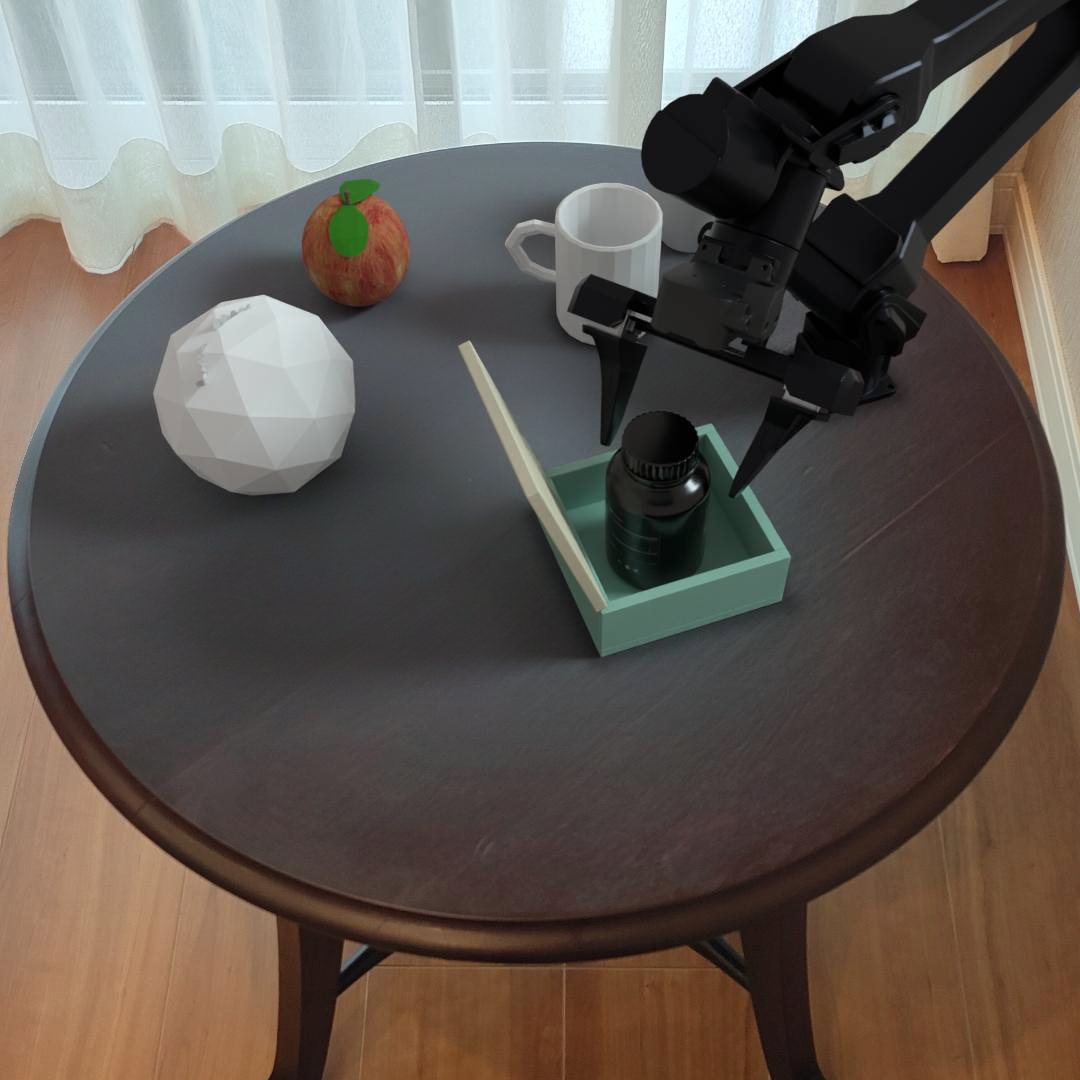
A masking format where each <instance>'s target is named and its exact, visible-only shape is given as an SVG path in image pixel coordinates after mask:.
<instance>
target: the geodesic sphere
mask: <svg viewBox="0 0 1080 1080" xmlns="http://www.w3.org/2000/svg"><path fill="white" fill-rule="evenodd" d="M162 359H163V360H162V362H161V366H160V369H159V372H158V376H157V379H156V382H155V386H154V389H153V391H152V396H153V399H154V400H153V401H154V404H155V409H156V412H157V417H158V422H159V426H160V429H161V434H162V436H163V437H164V438H165V440H166V442H167V443H168V444H169V446H170V448H172V450H173V452H174V454H176V456H177V457H178V458H179V459H181V461H182V462H183V463H184V464H185V465H187V467H188V468H190V470H192V472H193V473H194V474H195V475H197V477H199V478H201V479H203V480H205V481H207V482H209V483H212V484H214V485H216V486H218V487H220V488H221V489H225V490H227V492H230V493H236V494H241V495H247V496H262V495H263V496H264V495H273V494H274V495H275V494H289V493H295V492H296V491H298V490H299V489H300V488H301V487H303V486H304V485H306V484H308V482H309V481H311V480H312V479H313V478H315V477H316V476H318V475H319V474H320V473H321V472H322V471H324V470H325V469H327V468H328V467H329V466H331V465H332V464H333V463H335V462H336V461H338V460H339V459H340V458H341V457H342V454H343V452H344V448H345V444H346V442H347V438H348V435H349V432H350V429H351V425H352V423H353V418H354V416H355V412H356V389H355V386H356V385H355V373H354V360H353V359H352V357H350V355H349V354H348V353H347V352H346V350H345V349H344V347H343V346H342V345H341V344H340V342H339V341H338V340H337V339H336V337H335V336H334V335H333V334H332V332H331V331H330V329H329V328H328V327H327V326H326V324H325V323H324V321H322V319H321V318H320V317H319V316H318V315H317V314H314V313H312V312H309V311H307V310H304V309H301V308H299V307H297V306H294V305H291V304H289V303H286V302H283V301H281V300H279V299H276V298H273V297H271V296H268V295H267V294H266V295H265V294H261V295H254V296H249V297H243V298H237V299H232V300H226V301H221V302H219V303H218V304H216V305H215V306H213V307H212V308H210V309H208V310H207V311H206V312H204V313H203V314H201V315H199V316H198V317H196V318H195V319H193V320H192V321H190V322H189V323H187V324H185V325H184V326H182V327H180V328H179V329H177V331H175V332H173V333H171V334H170V337H169V340H168V343H167V347H166V350H165V353H164V356H163V358H162Z"/></svg>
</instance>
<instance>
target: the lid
mask: <svg viewBox="0 0 1080 1080" xmlns="http://www.w3.org/2000/svg"><path fill="white" fill-rule="evenodd" d="M458 350H459V352H460V354H461V357H462V360H463V361H464V364H465V365H466V368H467V371H468V372H469V374H470V376H471V379H472V381H473V383H474V386H475V387H476V391H477V392H478V395H479V396H480V397H479V398H480V399H481V401H482V403H483V405H484V407H485V410H486V412H487V414H488V416H489V419H490V421H491V423H492V426H493V427H494V430H495V432H496V434H497V436H498V439H499V440H500V443H501V445H502V447H503V449H504V452H505V454H506V456H507V458H508V460H509V462H510V466H511V467H512V469H513V471H514V474H515V476H516V479H517V480H518V482H519V485H520V487H521V489H522V492H523V494H524V496H525V498H526V500H527V501H528V503H529V504H530V506H531V509H532V510H533V511H534V513H535V514H536V516H537V519H538V518H539V519H540V521H541V523H542V524H543V526H544V528H545V529H546V531H547V532H548V534H549V536H550V537H551V539H552V541H553V542H554V544H555V546H556V547H557V549H558V551H559V552H560V554H561V555H562V557H563V559H564V560H565V562H566V564H567V565H568V567H569V569H570V570H571V572H572V574H573V575H574V577H575V578H576V580H577V582H578V583H579V585H580V587H581V588H582V590H583V592H584V593H585V595H586V597H587V598H588V600H589V601H590V603H591V605H592V606H593V608H594V610H595V611H596V612H598V611H600V610H602V609H604V608H606V607H607V605H606V603H605V600H604V598H603V596H602V594H601V592H600V590H599V588H598V586H597V583H596V581H595V579H594V577H593V575H592V573H591V571H590V569H589V566H588V564H587V562H586V560H585V558H584V556H583V554H582V552H581V550H580V547H579V545H578V543H577V541H576V539H575V537H574V535H573V533H572V530H571V528H570V526H569V524H568V522H567V520H566V518H565V516H564V513H563V511H562V509H561V507H560V505H559V503H558V501H557V499H556V496H555V494H554V492H553V490H552V488H551V486H550V484H549V482H548V479H547V477H546V475H545V473H544V471H543V470H544V469H543V467H542V464H541V463H540V461H539V459H538V458H537V456H536V454H535V453H534V451H533V449H532V447H531V445H530V444H529V442H528V440H527V438H526V437H525V435H524V433H523V431H522V429H521V428H520V426H519V424H518V422H517V421H516V419H515V417H514V416H513V413H512V412H511V410H510V409H509V407H508V405H507V403H506V401H505V400H504V397H503V396H502V394H501V393H500V391H499V389H498V388H497V386H496V384H495V382H494V380H493V379H492V377H491V375H490V373H489V371H488V370H487V368H486V367H485V366H486V365H484V363H483V361H482V359H481V357H480V356H479V354H478V353H477V350H476V349H475V347H474V346H473V344H472V342H471V341H470V340H467V341H465V342H462V343H461V344H459V345H458Z"/></svg>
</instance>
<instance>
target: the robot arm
mask: <svg viewBox="0 0 1080 1080" xmlns="http://www.w3.org/2000/svg"><path fill="white" fill-rule="evenodd" d="M1034 24H1035V25H1034ZM1032 25H1034V27H1033V28H1034V29H1033V31H1031V33H1030V34H1029V35H1028V37H1027V38H1026V39H1024V41H1023V42H1022V43H1021V44H1020V45H1019V46H1018V47H1017V48H1016V49H1015V50H1014V51H1013V52H1012V53H1011V54H1010V56H1008V57H1007V59H1005V61H1003V63H1002V64H1001V65H1000V66H999V67H998V68H997V69H996V70H995V71H994V72H993V73H992V75H990V76H989V78H987V79H986V80H985V82H983V84H982V85H981V86H980V87H978V89H976V91H975V92H974V93H973V94H972V95H971V96H970V97H969V99H968V100H966V102H965V103H964V104H963V105H961V107H960V108H959V109H958V110H957V111H956V112H955V113H954V114H953V115H952V116H951V117H950V118H949V119H948V120H947V121H946V122H945V124H943V125H942V126H941V128H940V129H939V130H938V131H937V132H936V133H935V134H933V136H932V137H931V138H930V139H929V140H928V141H927V142H926V143H925V144H924V145H923V146H922V147H921V148H920V149H919V151H918V152H917V153H915V155H914V156H913V157H912V158H911V159H910V160H909V161H908V162H907V163H906V164H905V165H904V166H903V168H901V169H900V170H899V171H898V173H896V175H895V176H894V177H893V178H892V179H891V180H890V181H889V182H888V183H886V185H885V186H884V187H883V188H882V189H881V190H880V191H878V192H877V193H873V194H872V195H868V196H865V197H862V198H859V199H854V197H852V196H851V195H849V194H848V193H847V192H843V193H841V194H839V195H837V196H835V197H833V198H832V199H831V200H830V202H829V203H828V204H827V205H826V207H824V209H823V210H822V212H821V213H820V214H819V215H818V216H817V217H816V213H817V211H818V209H819V206H820V204H821V200H822V198H823V196H824V193H825V190H826V189H828V190H831V191H836V192H841V191H843V190H844V188H845V186H846V182H845V176H844V172H843V170H842V168H841V166H844V165H846V164H850V163H852V164H853V165H857V164H862V163H865V162H867V161H869V160H871V159H873V158H875V157H876V156H878V155H879V154H881V153H882V152H884V151H886V149H888V148H890V147H891V146H892V144H893V143H895V141H897V140H898V139H899V138H900V137H902V136H903V135H904V134H905V133H907V132H908V131H909V130H911V128H912V127H914V126H915V125H916V124H917V123H918V122H919V121H920V119H921V116H922V113H923V111H924V109H925V106H926V104H927V102H928V99H929V96H930V94H931V93H932V92H933V91H934V90H935V89H936V88H938V87H939V86H940V85H941V84H942V83H944V82H946V80H948V79H949V78H951V77H952V76H954V75H956V74H957V73H959V72H961V71H962V70H964V69H965V68H967V67H968V66H970V65H971V64H973V63H974V62H976V61H978V60H979V59H981V58H982V57H984V56H985V55H987V54H988V53H990V52H992V51H993V50H995V49H996V48H998V47H999V46H1001V45H1003V44H1004V43H1006V42H1008V41H1009V40H1010V39H1012V38H1014V37H1015V36H1016V35H1018V34H1020V33H1021V32H1023V31H1025V30H1026V29H1027V28H1029V27H1031V26H1032ZM1078 90H1080V0H916V1H914V2H912V3H911V4H909V5H908V6H906V7H904V8H902V9H899V10H897V11H894V12H892V13H885V14H884V13H882V14H867V15H855V16H850V17H848V18H847V19H843V20H841V21H839V22H836V23H835V24H832V25H830V26H828V27H825V28H823V29H821V30H818V31H816V32H814V33H812V34H810V35H809V36H807V37H806V38H805V39H803V40H802V41H801V42H799V43H798V44H796V46H795V47H794V48H792V49H790V50H788V51H787V52H785V53H784V54H783V55H781V56H779V57H778V58H777V59H775V60H773V61H772V62H770V63H768V64H767V65H765V66H764V67H761V68H760V69H759V70H757V71H756V72H754V73H753V74H751V75H750V76H748V77H747V78H745V79H743V80H741V81H740V82H739V83H737V84H735V85H734V86H732V85H730V84H729V83H728V82H727V81H725V80H723V79H722V78H720V77H719V76H715V77H713V78H712V79H711V81H710V82H709V83H708V85H707V87H706V88H705V90H704V91H703V92H702V93H688V94H685V95H682V96H679V97H677V98H676V99H674V100H672V101H671V102H669V103H668V104H667V105H666V106H665V107H663V109H660V110H657V111H656V112H655V114H654V116H653V117H652V118H651V119H650V121H651V122H650V121H649V123H650V124H649V123H648V124H649V126H648V125H647V127H648V128H647V127H646V130H645V133H644V135H643V139H642V142H641V152H640V159H641V160H640V161H641V167H642V170H643V174H644V176H645V178H646V179H647V182H648V181H649V182H650V184H651V185H652V186H653V187H655V188H656V189H658V190H660V191H662V192H664V193H666V194H668V195H670V196H672V197H674V198H676V199H678V200H680V201H682V202H684V203H686V204H688V205H691V206H693V207H695V208H697V209H699V210H701V211H703V212H705V213H707V214H709V215H711V216H713V217H716V218H715V220H714V223H713V226H712V228H711V231H710V234H709V236H707V235H704V236H703V239H702V242H700V244H699V246H698V249H697V251H696V252H695V254H694V256H693V257H692V258H691V259H690V261H689V262H682V263H680V264H679V265H677V266H675V267H673V268H671V269H669V270H668V271H665V272H663V274H662V276H661V278H660V279H661V280H660V284H659V286H658V295H657V298H655V297H652V296H650V295H647V294H644V293H642V292H639V291H637V290H634V289H631V288H628V287H626V286H623V285H620V284H617V283H615V282H612V281H609V280H606V279H604V278H601V277H598V276H595V275H593V274H590V275H588V276H587V277H585V278H584V279H582V280H581V281H580V282H579V284H578V285H577V286H576V287H575V290H574V293H573V296H572V298H571V301H570V304H569V307H568V309H567V312H570V313H572V314H575V315H577V316H580V317H583V318H585V319H588V320H589V322H588V325H584V324H583V325H582V332H583V333H585V334H588V335H590V336H592V338H593V339H594V342H595V345H596V346H595V345H594V346H595V348H596V351H597V355H598V359H599V368H600V369H599V370H600V378H601V379H600V381H601V385H600V391H601V392H600V393H601V394H600V427H599V428H600V429H599V430H600V431H599V434H600V436H599V444H600V445H601V446H604V447H610V446H611V445H612V443H613V441H614V439H615V438H616V435H617V433H618V431H619V429H620V427H621V425H622V423H623V420H624V416H625V413H626V410H627V407H628V405H629V402H630V399H631V396H632V394H633V391H634V387H635V385H636V382H637V379H638V376H639V373H640V370H641V368H642V366H643V362H644V360H645V356H646V353H647V351H648V348H649V345H647V344H644V343H641V342H639V341H638V339H637V338H638V336H639V335H641V333H642V332H646V333H645V334H648V335H651V336H654V337H657V338H660V339H662V340H664V341H668V342H670V343H672V344H675V345H678V346H680V347H683V348H686V349H689V350H691V351H694V352H697V353H700V354H702V355H704V356H708V357H709V358H713V359H716V360H717V361H720V362H724V363H726V364H729V365H731V366H735V367H737V368H739V369H743V370H745V371H748V372H751V373H752V374H756V375H757V376H761V377H764V378H766V379H769V380H772V381H774V382H776V383H780V384H783V387H782V390H783V391H784V392H783V395H782V397H779V396H774V395H770V397H769V400H768V403H767V406H766V410H765V413H764V416H763V420H762V421H761V424H760V426H759V428H758V429H757V432H756V433H755V435H754V437H753V439H752V441H751V443H750V445H749V447H748V449H747V451H746V453H745V455H744V457H743V459H742V460H741V463H740V465H739V466H738V468H739V469H738V471H737V473H736V475H735V477H734V480H733V483H732V486H731V489H730V492H729V495H728V496H729V497H730V498H732V499H736V498H737V497H738V496H739V495H740V494H741V493H742V492H743V491H744V490H745V488H746V487H747V486H748V485H749V486H750V484H751V483H752V481H754V479H755V478H756V477H757V476H758V475H759V474H760V472H761V471H763V469H764V468H765V467H766V465H768V463H770V462H771V460H772V459H773V458H774V457H775V456H776V454H777V453H779V451H780V450H781V449H782V448H783V447H784V446H785V445H786V444H787V443H789V441H790V440H791V439H793V438H794V437H795V436H796V435H797V434H798V433H799V432H801V431H802V430H803V429H804V428H805V427H807V425H808V424H810V422H812V421H816V422H822V423H828V422H829V421H830V419H831V413H835V414H838V415H843V416H848V417H854V415H855V413H856V411H857V407H858V406H859V405H862V404H866V403H870V402H874V401H876V400H880V399H884V398H888V397H890V396H894V395H895V394H896V393H897V389H898V387H897V384H896V383H895V381H894V380H893V379H892V377H891V376H890V375H889V373H888V371H889V369H890V364H891V361H892V357H893V358H896V357H898V356H900V355H902V354H903V350H904V346H905V344H906V343H907V342H909V341H911V340H913V339H915V337H916V336H917V335H918V333H919V332H920V330H921V328H922V326H923V324H924V322H925V320H926V318H927V316H928V312H927V311H925V310H924V309H922V308H921V307H920V306H919V305H917V304H916V303H915V302H914V301H913V300H911V299H910V297H911V295H912V294H913V293H914V292H915V290H916V289H917V288H918V286H919V282H920V278H921V274H922V272H923V271H922V270H923V266H924V263H925V259H926V254H927V251H928V247H929V244H930V243H931V242H932V240H933V239H934V238H935V237H936V236H937V235H938V234H939V233H940V232H941V231H942V230H943V229H944V228H945V227H946V226H947V225H948V224H949V223H950V222H951V221H952V220H953V219H954V218H955V217H956V216H957V215H958V214H959V212H960V211H961V210H963V208H964V207H966V205H968V203H970V201H971V200H972V199H973V198H974V197H975V196H976V195H977V194H978V193H980V191H981V190H982V189H983V188H984V187H985V186H986V185H987V184H988V183H989V182H990V181H991V180H992V179H993V178H994V177H995V176H996V175H997V174H998V173H999V172H1000V171H1001V169H1002V168H1003V167H1004V166H1005V165H1006V164H1007V163H1008V162H1009V161H1010V160H1011V159H1012V158H1013V157H1014V156H1015V155H1016V154H1017V153H1018V152H1019V151H1020V150H1021V149H1022V148H1023V147H1024V146H1025V145H1026V144H1027V143H1028V142H1029V141H1030V140H1031V138H1032V137H1034V136H1035V135H1036V133H1038V132H1039V130H1040V129H1042V128H1043V126H1044V125H1045V124H1046V123H1048V121H1049V120H1050V119H1051V118H1052V117H1053V116H1054V115H1055V114H1056V113H1057V112H1058V111H1059V110H1060V109H1061V108H1062V107H1063V106H1064V105H1065V104H1066V102H1068V101H1069V100H1070V99H1071V97H1072V96H1073V95H1075V94H1076V93H1077V92H1078ZM815 217H816V218H815ZM814 218H815V219H814ZM786 291H787V292H788V293H789V294H790V295H791V296H792V298H793V299H794V300H796V301H797V302H800V303H801V304H802V305H803V306H805V307H806V309H808V310H809V311H807V312H806V313H805V317H804V321H803V327H802V331H799V332H798V333H797V335H796V340H795V343H794V351H792V352H789V353H787V354H785V353H784V354H783V353H781V352H778V351H776V350H773V349H771V348H768V347H767V345H768V343H769V340H770V338H771V336H772V335H773V334H774V332H775V330H776V328H777V326H778V324H779V323H778V322H779V319H780V316H781V312H782V309H783V303H784V296H785V294H786V293H785V292H786ZM736 339H741V341H740V345H743V346H745V347H746V349H745V351H743V350H741V349H739V348H735V347H732V346H730V344H731V343H732V342H733V341H735V340H736Z"/></svg>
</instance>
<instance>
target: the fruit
mask: <svg viewBox="0 0 1080 1080" xmlns="http://www.w3.org/2000/svg"><path fill="white" fill-rule="evenodd" d="M380 187H381V183H380V182H378V181H377V180H374V179H371V178H360V179H352V180H346V181H344V182H343V183H342V184H340V185H339V189H338V190H339V191H338V192H339V193H336V194H334V195H331V196H329V197H327V198H325V199H324V200H323V201H321V202H320V203H319V204H318V205H317V206H316V207H315V209H314V210H313V211H312V213H311V214H310V215H309V217H308V219H307V220H306V222H305V225H304V227H303V232H302V238H301V254H302V262H303V264H304V267H305V270H306V272H307V275H308V277H309V279H310V280H311V281H312V283H313V284H314V286H315V287H316V288H317V289H318V291H320V292H321V293H322V294H323V295H325V296H326V297H328V298H330V299H331V300H333V301H334V302H336V303H338V304H342V305H344V306H350V307H368V306H372V305H376V304H377V303H380V302H381V301H383V300H385V299H388V298H389V297H390V296H391V295H392V294H393V293H394V292H395V291H396V290H397V288H398V287H400V285H402V282H403V281H404V279H405V277H406V274H407V272H408V270H409V264H410V259H411V246H410V238H409V235H408V232H407V229H406V226H405V224H404V222H403V220H402V219H401V217H400V216H399V214H398V213H397V211H396V210H395V209H394V208H393V207H392V206H391V205H390V204H389V203H388V202H387V201H385V200H383V199H382V198H380V197H378V196H377V195H375V194H374V193H376V192H377V191H378V190H379V188H380Z"/></svg>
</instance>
